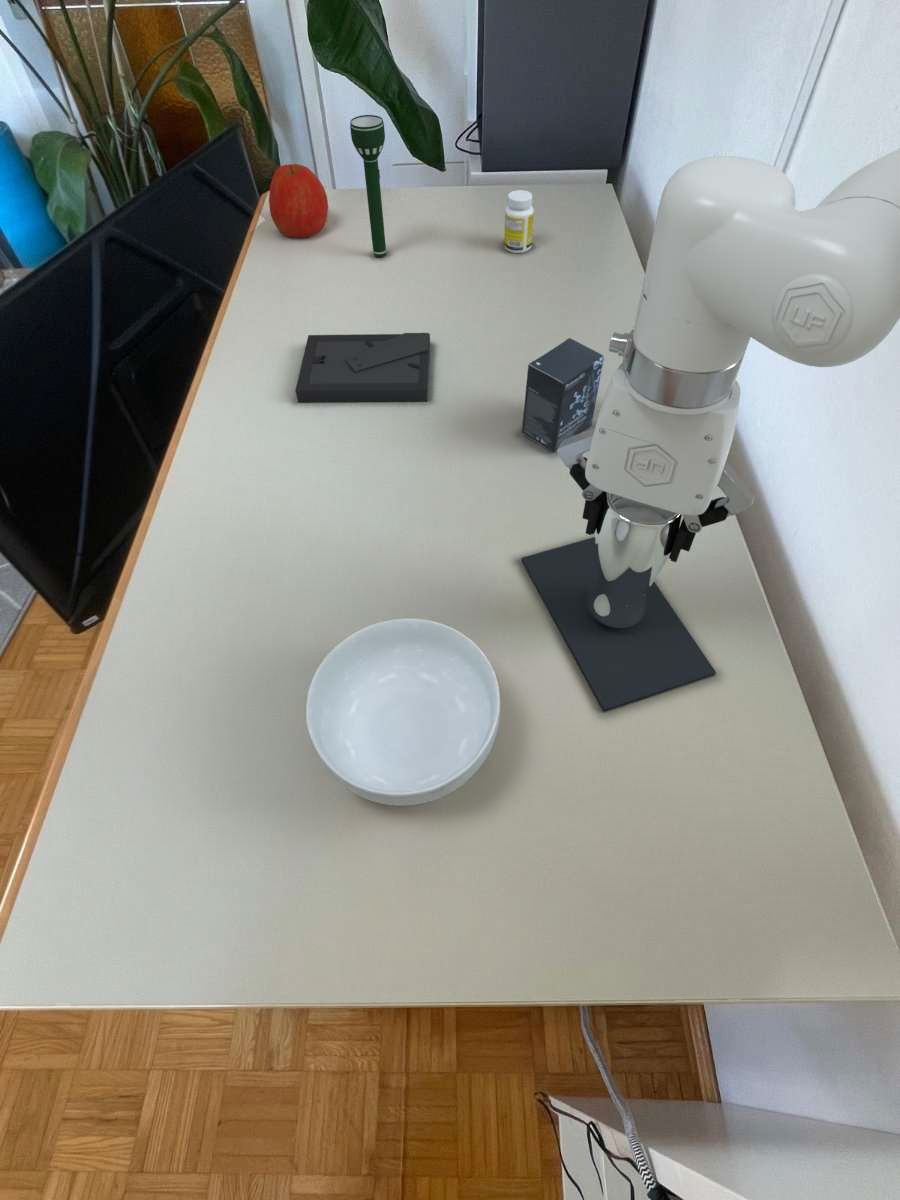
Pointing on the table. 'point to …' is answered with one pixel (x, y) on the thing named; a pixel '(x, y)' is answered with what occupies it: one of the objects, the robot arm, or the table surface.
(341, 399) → the picture frame
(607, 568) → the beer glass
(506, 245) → the supplement bottle
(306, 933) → the table surface
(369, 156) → the flashlight
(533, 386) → the box
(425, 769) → the cereal bowl
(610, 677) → the placemat
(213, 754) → the table surface
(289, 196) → the apple
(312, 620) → the table surface
